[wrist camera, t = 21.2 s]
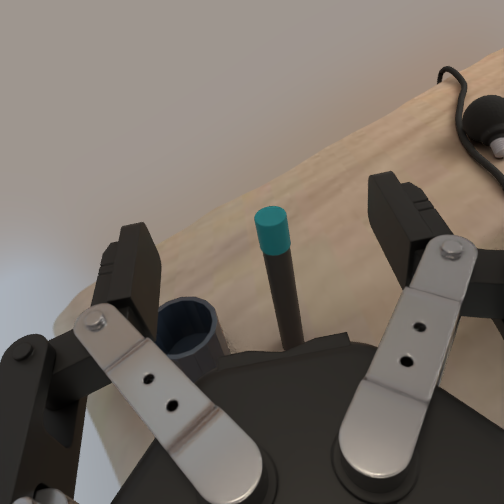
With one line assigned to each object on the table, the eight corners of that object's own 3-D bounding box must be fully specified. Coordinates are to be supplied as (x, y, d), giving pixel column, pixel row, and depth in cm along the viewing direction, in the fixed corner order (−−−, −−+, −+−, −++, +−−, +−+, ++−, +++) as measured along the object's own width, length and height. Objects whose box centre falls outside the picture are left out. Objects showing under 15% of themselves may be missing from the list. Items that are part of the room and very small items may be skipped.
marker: (287, 331, 43) (263, 203, 32) (309, 338, 42) (291, 208, 31) (277, 349, 42) (248, 222, 31) (299, 357, 41) (277, 228, 30)
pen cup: (188, 324, 46) (172, 288, 42) (242, 345, 43) (231, 308, 39) (149, 377, 42) (127, 343, 38) (205, 404, 39) (188, 370, 35)
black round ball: (497, 141, 54) (471, 85, 58) (470, 172, 60) (448, 119, 64) (543, 139, 55) (513, 84, 59) (512, 170, 61) (487, 117, 65)
